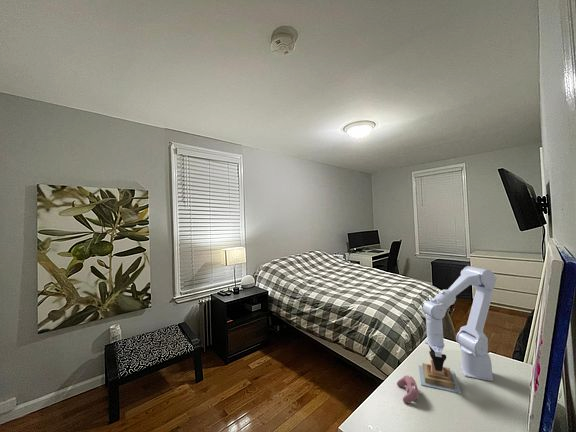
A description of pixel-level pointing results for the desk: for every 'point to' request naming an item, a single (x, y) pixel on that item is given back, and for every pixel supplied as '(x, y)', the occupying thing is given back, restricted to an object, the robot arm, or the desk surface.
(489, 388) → the desk surface
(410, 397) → the video game controller
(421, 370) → the mat
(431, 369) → the terracotta block
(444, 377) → the walnut plinth
